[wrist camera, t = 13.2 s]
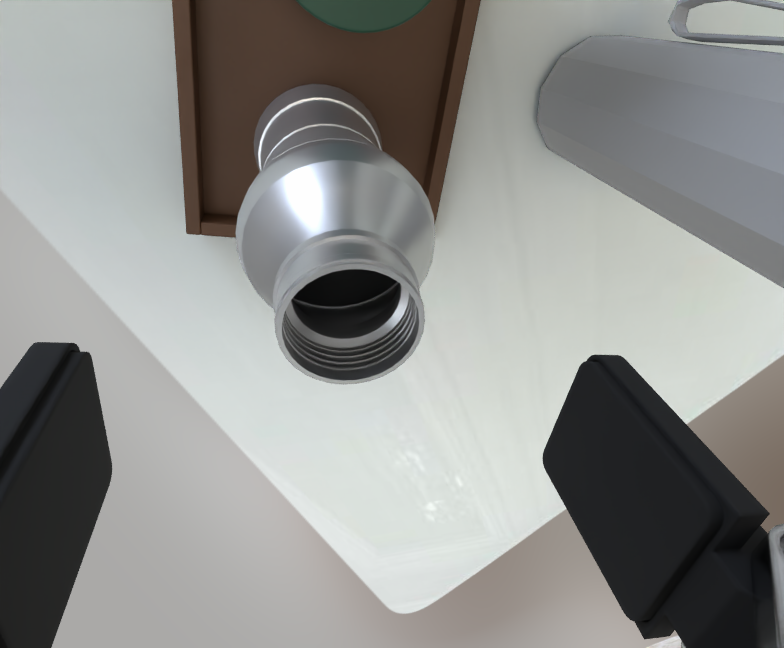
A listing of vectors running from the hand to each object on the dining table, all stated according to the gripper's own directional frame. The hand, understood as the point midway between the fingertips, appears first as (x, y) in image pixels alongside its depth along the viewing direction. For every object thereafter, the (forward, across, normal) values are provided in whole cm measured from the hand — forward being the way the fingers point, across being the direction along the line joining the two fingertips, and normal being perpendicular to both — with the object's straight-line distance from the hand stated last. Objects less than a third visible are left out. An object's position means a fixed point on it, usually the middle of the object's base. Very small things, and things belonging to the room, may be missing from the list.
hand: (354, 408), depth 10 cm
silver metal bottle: (+23, 0, 0) cm, 23 cm away
